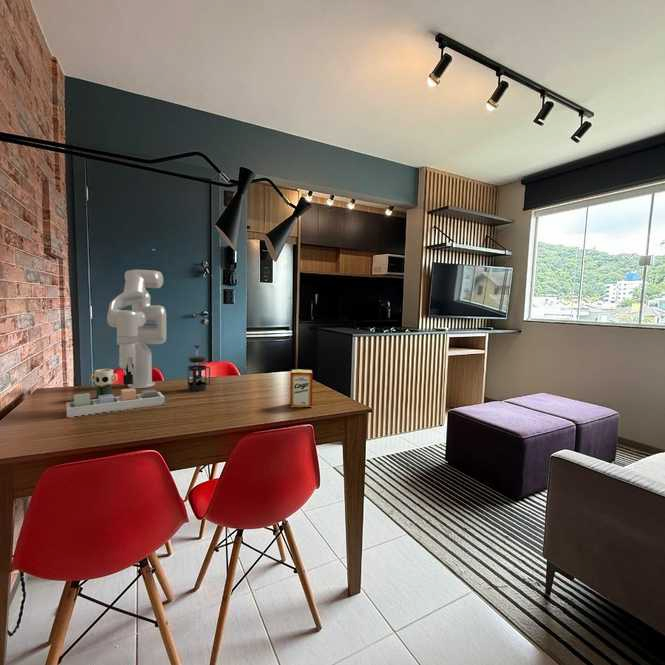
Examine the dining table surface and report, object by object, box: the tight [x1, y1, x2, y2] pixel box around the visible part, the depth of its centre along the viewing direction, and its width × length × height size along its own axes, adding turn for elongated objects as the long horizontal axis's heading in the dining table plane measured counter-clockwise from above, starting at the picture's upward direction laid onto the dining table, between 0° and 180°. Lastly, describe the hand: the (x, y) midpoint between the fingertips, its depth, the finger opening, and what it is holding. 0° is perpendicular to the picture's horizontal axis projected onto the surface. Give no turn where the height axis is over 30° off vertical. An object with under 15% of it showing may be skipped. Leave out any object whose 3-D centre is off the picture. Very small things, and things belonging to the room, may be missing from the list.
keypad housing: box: [65, 391, 166, 418], centre depth 146 cm, size 10×34×4 cm, turn 128°
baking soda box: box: [289, 368, 314, 407], centre depth 156 cm, size 10×6×16 cm
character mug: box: [90, 368, 118, 399], centre depth 159 cm, size 11×7×13 cm, turn 100°
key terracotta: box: [120, 388, 137, 401], centre depth 149 cm, size 5×5×4 cm
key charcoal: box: [141, 389, 158, 399], centre depth 154 cm, size 5×5×4 cm
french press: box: [186, 344, 211, 393], centre depth 179 cm, size 12×9×23 cm
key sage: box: [73, 392, 91, 407], centre depth 139 cm, size 5×5×4 cm
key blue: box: [98, 393, 115, 404], centre depth 144 cm, size 5×5×4 cm
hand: (128, 383), depth 148 cm, fingers closed
